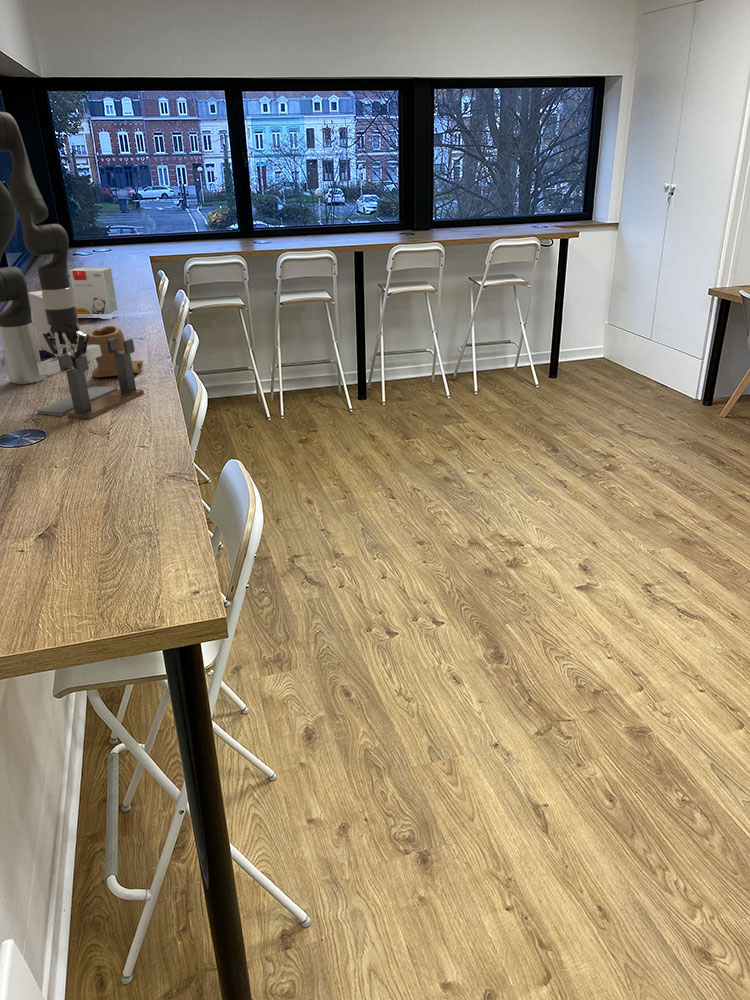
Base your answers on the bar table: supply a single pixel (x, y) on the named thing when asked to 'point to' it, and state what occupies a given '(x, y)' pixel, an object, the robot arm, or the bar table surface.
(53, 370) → the steel rail
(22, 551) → the bar table surface
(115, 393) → the cradle stand
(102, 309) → the hard drive box
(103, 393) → the rubber mat
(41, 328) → the game console
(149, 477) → the bar table surface
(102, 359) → the clay boot vase
